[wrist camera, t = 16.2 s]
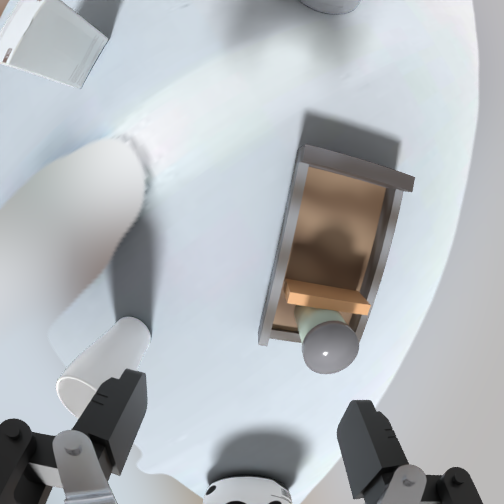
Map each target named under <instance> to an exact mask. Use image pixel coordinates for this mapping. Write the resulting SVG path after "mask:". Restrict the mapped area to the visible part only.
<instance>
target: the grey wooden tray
mask: <svg viewBox="0 0 504 504" xmlns="http://www.w3.org/2000/svg"><path fill="white" fill-rule="evenodd" d="M414 180H415V177H413V176H410V175H407V174H405V173H402V172H399V171H396V170H393V169H390V168H387V167H384V166H381V165H378V164H375V163H372V162H369V161H366V160H362V159H359V158H356V157H352V156H349V155H345V154H342V153H338V152H335V151H331V150H327V149H323V148H319V147H315V146H311V145H307V144H305V145H304V146H303V147H301V148H300V149H299V150H298V152H297V157H296V162H295V167H294V172H293V177H292V182H291V186H290V191H289V196H288V201H287V206H286V211H285V215H284V220H283V225H282V229H281V234H280V239H279V243H278V248H277V252H276V257H275V262H274V266H273V270H272V275H271V279H270V284H269V288H268V293H267V297H266V301H265V306H264V310H263V314H262V318H261V323H260V327H259V331H258V344H259V345H262V346H267V345H268V341H269V338H271V339H278V340H285V341H292V342H299V343H302V342H301V339H300V335H299V331H298V328H297V324H296V321H295V317H294V309H295V306H296V305H295V304H289V303H287V301H286V297H285V293H284V289H283V287H284V283H285V279H291V280H297V281H302V282H308V283H314V284H319V285H325V286H331V287H337V288H342V289H348V290H354V291H359V292H360V293H361V295H362V296H363V297H364V298H365V299H366V300H367V301H368V302H369V303H370V305H371V307H370V310H369V312H368V315H362V314H354V313H347V312H340V311H339V312H340V314H341V316H342V317H343V319H344V321H345V322H346V324H348V325H349V326H350V327H351V328H352V330H353V331H354V333H355V334H356V336H357V338H358V341H359V342H360V339H361V337H362V334H363V332H364V329H365V326H366V323H367V321H368V318H369V315H370V312H371V309H372V306H373V303H374V300H375V297H376V294H377V291H378V288H379V285H380V282H381V278H382V275H383V272H384V268H385V265H386V261H387V258H388V254H389V251H390V247H391V243H392V239H393V235H394V231H395V227H396V223H397V219H398V214H399V210H400V205H401V200H402V196H403V191H407V192H412V191H413V185H414Z"/></svg>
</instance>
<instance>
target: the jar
mask: <svg viewBox="0 0 504 504" xmlns="http://www.w3.org/2000/svg"><path fill="white" fill-rule="evenodd" d="M294 317H295V321H296V324H297V328H298V331H299V335H300V339H301V342H302V353H303V357H304V361H305V363H306V365H307V366H308V367H309V368H310V369H311V370H312V371H314V372H317V373H320V374H332V373H336V372H339V371H341V370H343V369H345V368H346V367H347V366H349V365H350V364H351V363H352V362H353V360H354V359H355V357H356V356H357V353H358V350H359V341H358V338H357V336H356V334H355V333H354V331H353V330H352V328H351V327H350V326H349V325H348V324H346V322H345V321H344V319H343V317H342V316H341V314H340V312H339V311H334V310H327V309H320V308H314V307H308V306H301V305H296V306H295V309H294Z"/></svg>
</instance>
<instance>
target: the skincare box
mask: <svg viewBox="0 0 504 504" xmlns="http://www.w3.org/2000/svg"><path fill="white" fill-rule="evenodd" d="M108 40H109V39H108V38H107V37H106V36H105V35H104V34H103V33H101V32H100V31H99V30H98V29H96V28H95V27H94V26H93V25H91V24H90V23H89V22H88V21H86V20H85V19H84V18H83V17H81V16H80V15H79V14H78V13H76V12H75V11H74V10H73V9H71V8H70V7H69V6H67V5H66V4H65V3H63V2H62V1H61V0H19V1H18V3H17V4H16V6H15V8H14V9H13V11H12V12H11V14H10V16H9V17H8V19H7V21H6V22H5V24H4V26H3V28H2V29H1V31H0V64H2V65H5V66H8V67H12V68H16V69H19V70H22V71H25V72H28V73H31V74H34V75H37V76H40V77H43V78H46V79H49V80H51V81H54V82H57V83H61V84H64V85H67V86H70V87H74V88H77V89H81V87H82V85H83V83H84V81H85V80H86V78H87V76H88V74H89V72H90V70H91V68H92V66H93V65H94V63H95V61H96V59H97V58H98V56H99V54H100V53H101V51H102V49H103V47H104V46H105V44H106V43H107V41H108Z"/></svg>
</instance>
